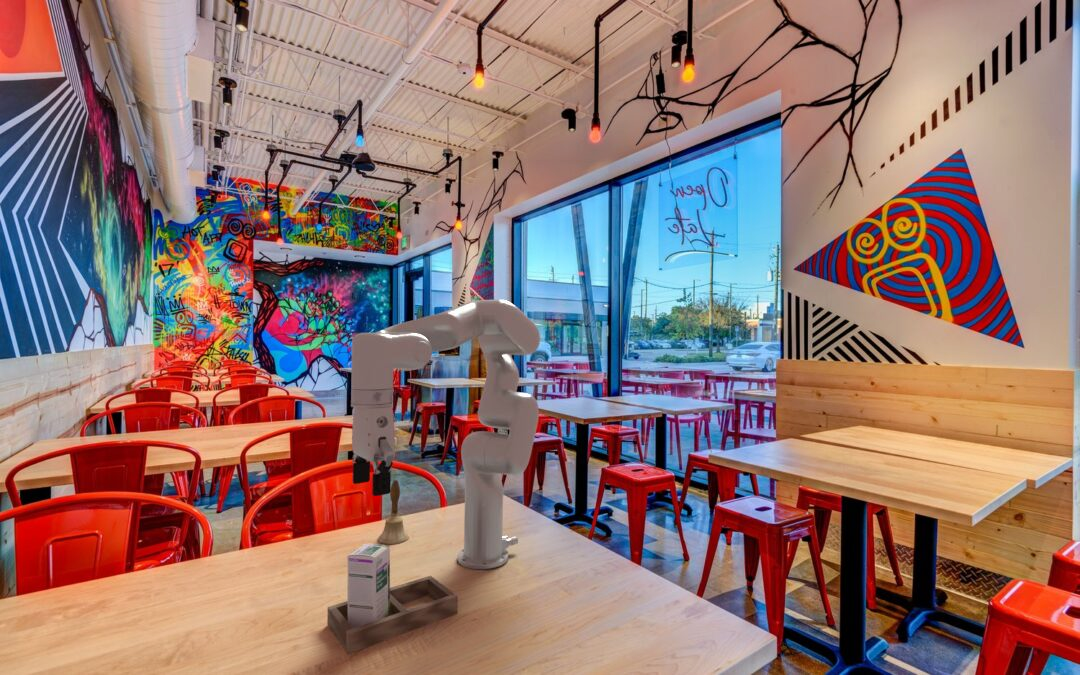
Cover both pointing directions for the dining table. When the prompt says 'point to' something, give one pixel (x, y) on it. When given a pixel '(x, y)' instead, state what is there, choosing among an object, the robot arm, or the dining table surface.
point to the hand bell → (394, 521)
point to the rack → (395, 614)
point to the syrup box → (368, 584)
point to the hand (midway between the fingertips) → (370, 488)
